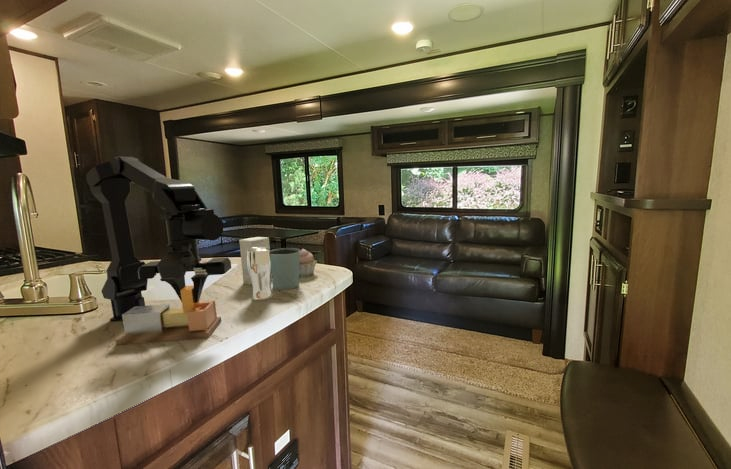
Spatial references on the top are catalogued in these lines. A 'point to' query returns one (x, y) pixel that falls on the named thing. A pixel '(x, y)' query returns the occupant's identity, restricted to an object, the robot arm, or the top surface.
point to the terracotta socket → (202, 316)
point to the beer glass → (260, 272)
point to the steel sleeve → (144, 319)
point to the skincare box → (244, 246)
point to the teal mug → (285, 268)
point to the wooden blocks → (180, 309)
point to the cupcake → (306, 263)
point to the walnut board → (168, 335)
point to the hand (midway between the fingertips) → (190, 302)
